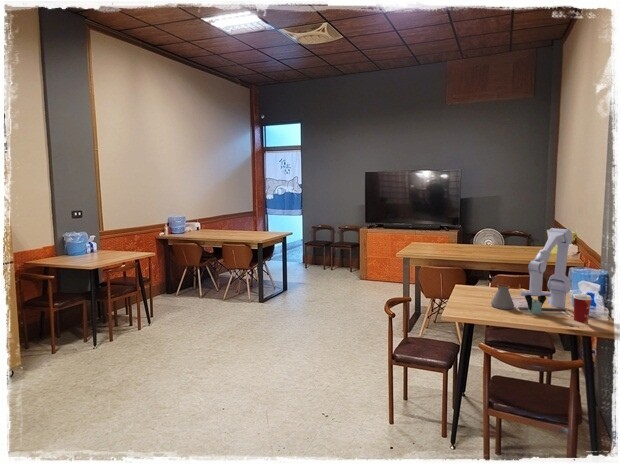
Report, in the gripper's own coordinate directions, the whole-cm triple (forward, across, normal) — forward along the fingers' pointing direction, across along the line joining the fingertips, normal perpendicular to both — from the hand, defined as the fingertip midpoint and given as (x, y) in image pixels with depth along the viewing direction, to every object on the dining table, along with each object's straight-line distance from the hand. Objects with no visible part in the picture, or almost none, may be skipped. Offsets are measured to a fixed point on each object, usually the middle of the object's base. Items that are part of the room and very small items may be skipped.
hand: (534, 309), depth 221 cm
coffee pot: (+3, -14, +14) cm, 20 cm away
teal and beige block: (+1, 0, 0) cm, 1 cm away
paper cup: (+3, +17, -11) cm, 21 cm away
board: (+3, +5, 0) cm, 6 cm away
